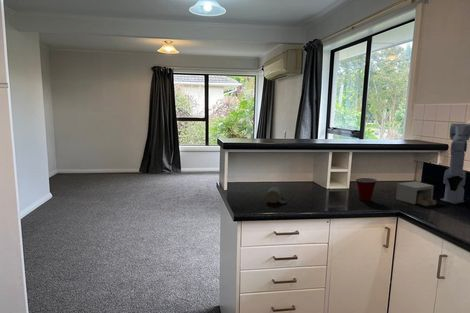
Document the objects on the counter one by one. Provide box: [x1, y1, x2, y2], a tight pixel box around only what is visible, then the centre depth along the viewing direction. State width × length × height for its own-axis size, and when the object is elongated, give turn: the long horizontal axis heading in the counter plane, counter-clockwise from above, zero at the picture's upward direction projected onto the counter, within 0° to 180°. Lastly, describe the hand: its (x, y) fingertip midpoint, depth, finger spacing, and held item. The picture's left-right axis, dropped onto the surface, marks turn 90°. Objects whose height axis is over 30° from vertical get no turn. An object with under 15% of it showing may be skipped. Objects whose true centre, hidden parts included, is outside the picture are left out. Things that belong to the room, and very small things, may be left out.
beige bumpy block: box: [416, 191, 437, 207], centre depth 174 cm, size 8×10×6 cm
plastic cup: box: [355, 177, 378, 203], centre depth 176 cm, size 11×11×12 cm
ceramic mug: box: [265, 186, 287, 205], centre depth 169 cm, size 11×8×8 cm
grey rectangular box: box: [395, 181, 435, 205], centre depth 178 cm, size 15×11×9 cm
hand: (453, 190), depth 164 cm, fingers closed
